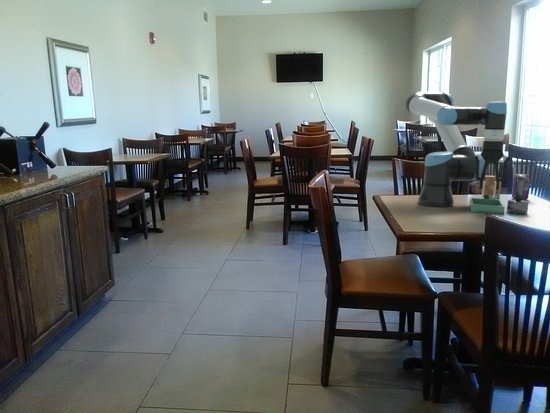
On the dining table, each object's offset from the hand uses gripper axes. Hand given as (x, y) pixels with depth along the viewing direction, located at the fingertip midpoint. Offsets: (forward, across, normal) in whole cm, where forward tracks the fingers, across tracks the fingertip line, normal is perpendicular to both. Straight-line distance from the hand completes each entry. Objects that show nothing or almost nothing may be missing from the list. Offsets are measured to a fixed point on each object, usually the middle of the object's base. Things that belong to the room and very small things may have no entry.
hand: (488, 196), depth 193 cm
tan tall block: (-1, 0, +4) cm, 4 cm away
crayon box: (+6, +3, +22) cm, 23 cm away
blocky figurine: (+6, +11, 0) cm, 13 cm away
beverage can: (+6, +17, +39) cm, 43 cm away
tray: (+6, 0, +4) cm, 7 cm away
